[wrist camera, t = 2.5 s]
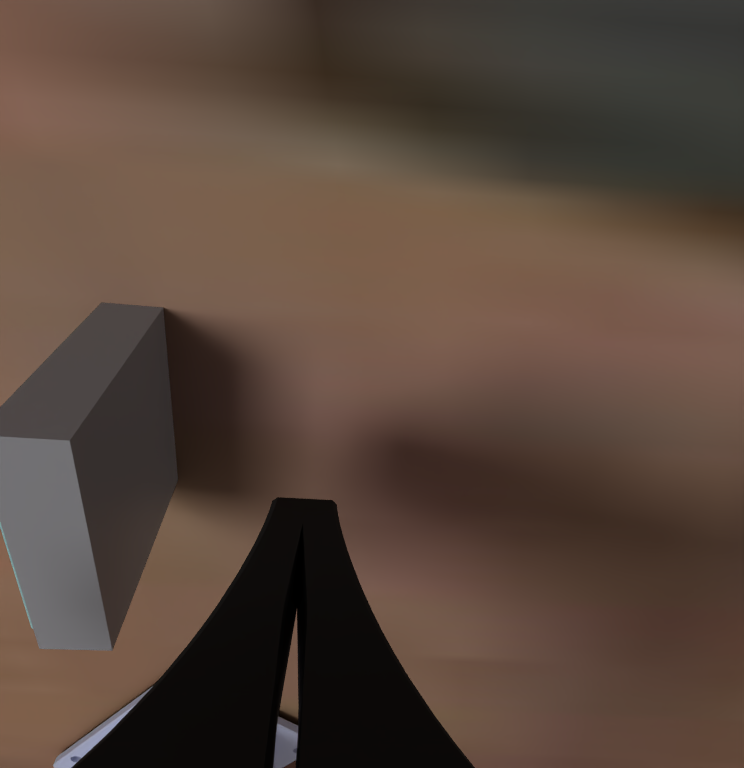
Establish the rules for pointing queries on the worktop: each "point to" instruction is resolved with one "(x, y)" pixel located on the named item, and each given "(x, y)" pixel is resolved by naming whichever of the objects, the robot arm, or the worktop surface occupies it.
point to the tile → (88, 475)
